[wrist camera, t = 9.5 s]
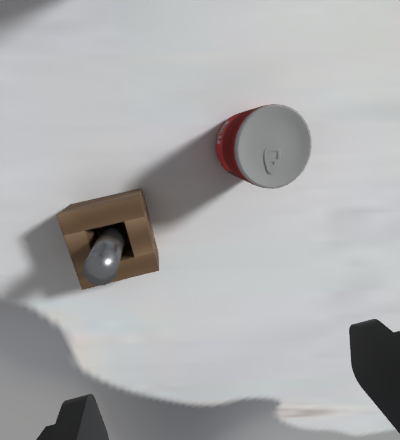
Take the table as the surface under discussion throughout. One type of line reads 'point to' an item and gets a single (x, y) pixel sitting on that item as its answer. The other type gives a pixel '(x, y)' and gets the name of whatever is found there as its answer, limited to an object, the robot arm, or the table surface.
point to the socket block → (106, 215)
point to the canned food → (265, 145)
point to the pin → (105, 255)
